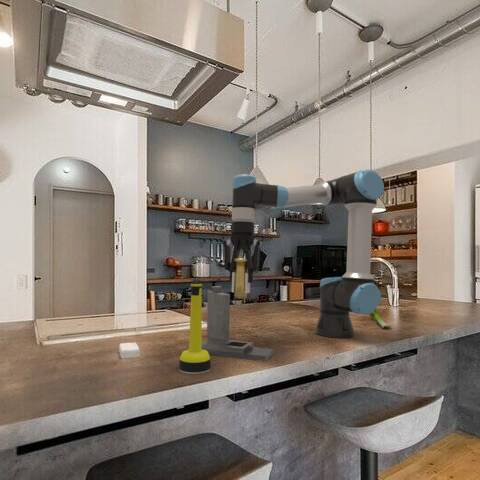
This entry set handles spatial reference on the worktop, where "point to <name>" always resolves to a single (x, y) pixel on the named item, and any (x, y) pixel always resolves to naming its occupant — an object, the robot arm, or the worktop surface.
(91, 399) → the worktop surface
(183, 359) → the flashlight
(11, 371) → the worktop surface
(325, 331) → the robot arm
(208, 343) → the grey socket base
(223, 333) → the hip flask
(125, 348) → the soap
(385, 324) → the leek
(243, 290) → the pin
